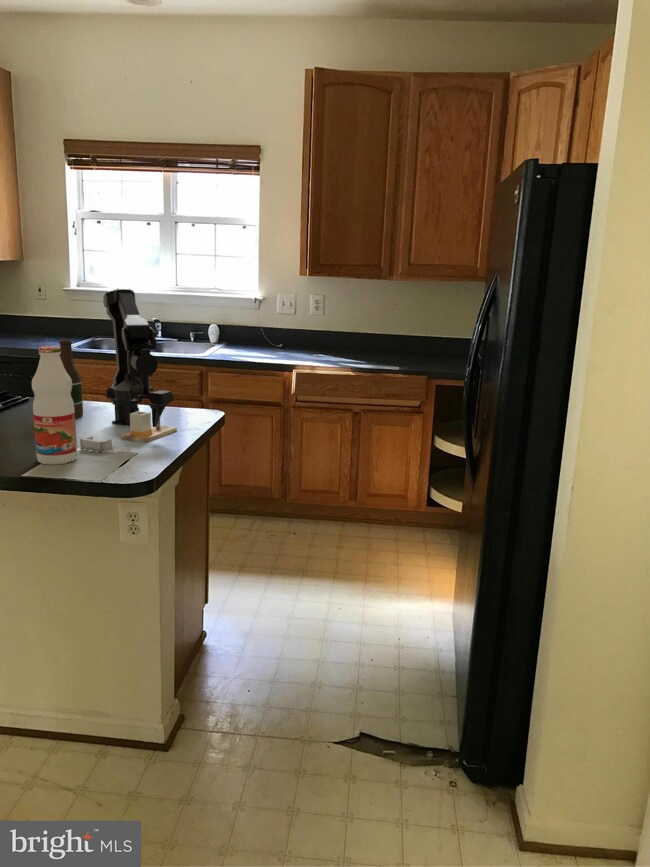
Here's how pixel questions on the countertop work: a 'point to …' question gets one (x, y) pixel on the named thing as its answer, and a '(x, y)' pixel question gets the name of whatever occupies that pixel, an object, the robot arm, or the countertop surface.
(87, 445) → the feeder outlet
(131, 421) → the sleeve
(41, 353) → the fruit juice
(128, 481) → the countertop surface
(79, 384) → the beer bottle
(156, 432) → the pin board
